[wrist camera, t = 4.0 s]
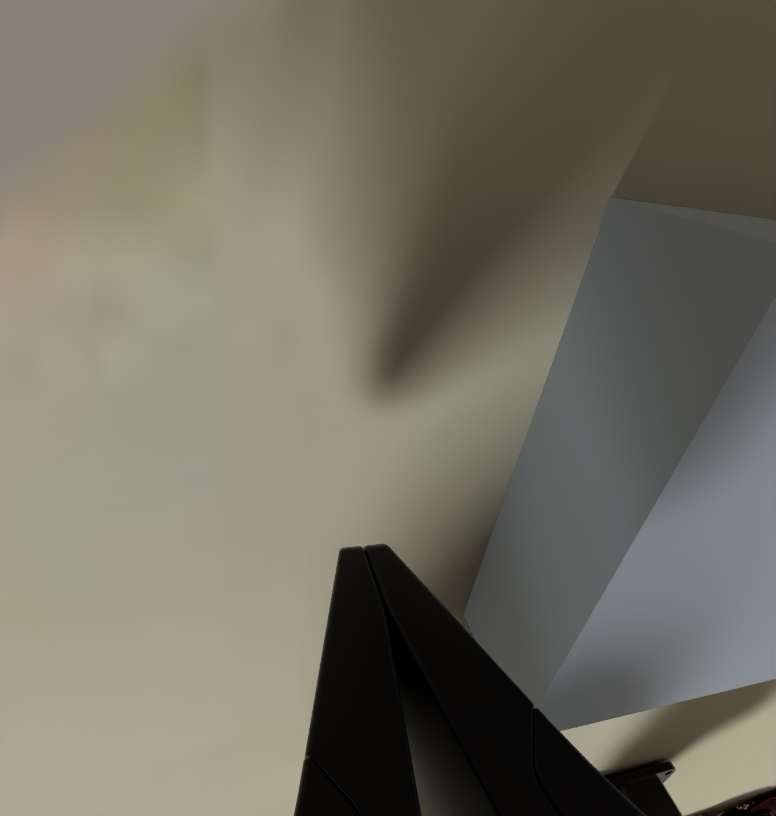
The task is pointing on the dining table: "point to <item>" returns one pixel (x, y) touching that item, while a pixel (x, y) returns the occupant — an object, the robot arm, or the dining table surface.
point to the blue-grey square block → (646, 479)
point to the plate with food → (758, 807)
